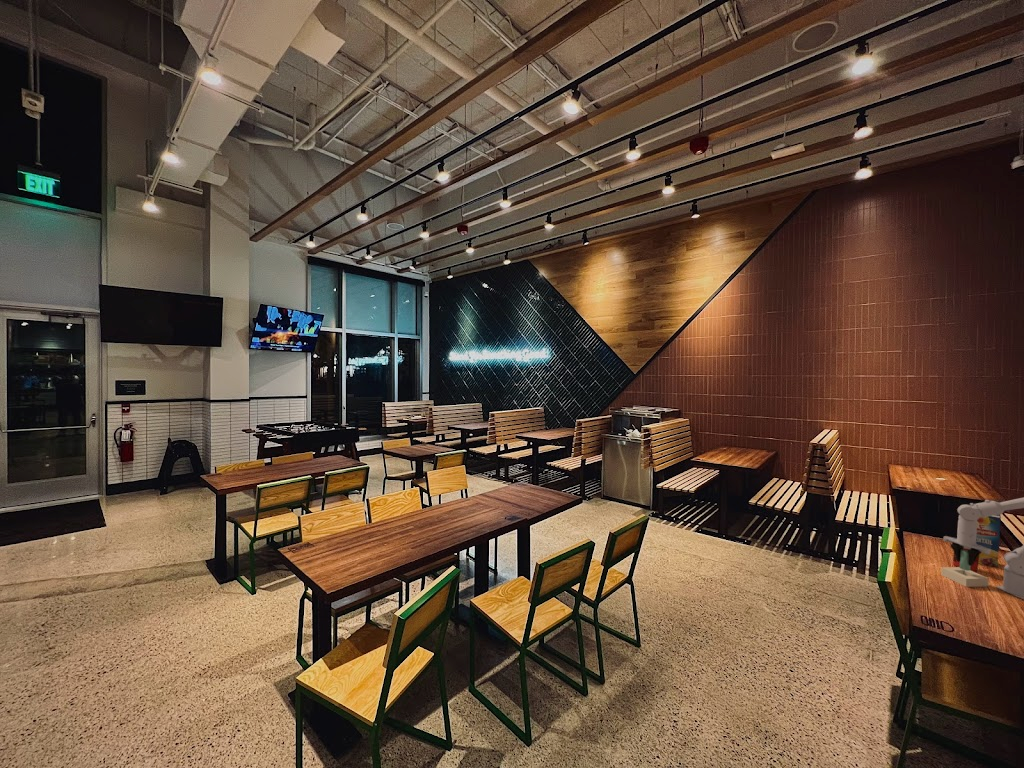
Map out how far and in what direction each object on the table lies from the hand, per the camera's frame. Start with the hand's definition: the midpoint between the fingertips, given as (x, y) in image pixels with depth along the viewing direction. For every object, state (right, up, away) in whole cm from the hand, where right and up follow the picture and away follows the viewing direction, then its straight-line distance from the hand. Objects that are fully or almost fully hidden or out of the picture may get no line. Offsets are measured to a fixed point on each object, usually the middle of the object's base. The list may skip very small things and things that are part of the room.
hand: (965, 563), depth 185 cm
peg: (0, -3, 0) cm, 3 cm away
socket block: (0, -8, 0) cm, 8 cm away
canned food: (+13, -7, +12) cm, 19 cm away
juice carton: (+26, -7, +18) cm, 33 cm away
